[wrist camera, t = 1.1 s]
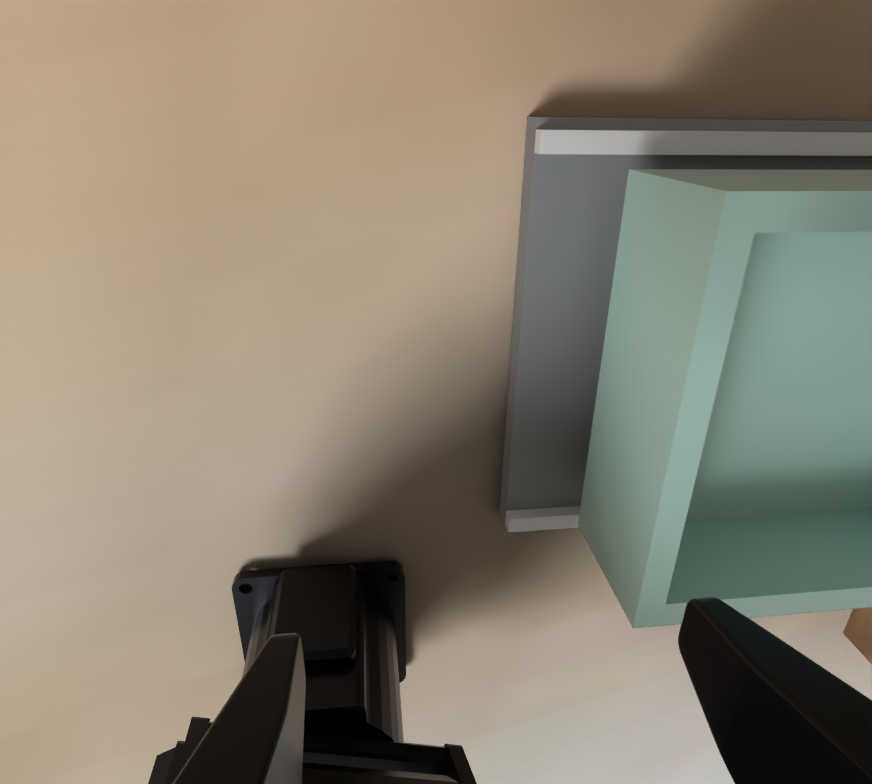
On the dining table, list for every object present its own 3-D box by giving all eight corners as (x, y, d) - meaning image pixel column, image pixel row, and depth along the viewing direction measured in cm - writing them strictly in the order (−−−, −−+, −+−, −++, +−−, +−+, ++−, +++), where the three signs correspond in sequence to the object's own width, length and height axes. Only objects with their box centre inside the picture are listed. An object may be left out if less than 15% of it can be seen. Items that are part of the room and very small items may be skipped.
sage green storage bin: (854, 483, 23) (1002, 595, 18) (566, 501, 22) (632, 628, 16) (975, 165, 18) (1230, 189, 13) (609, 165, 17) (726, 191, 11)
